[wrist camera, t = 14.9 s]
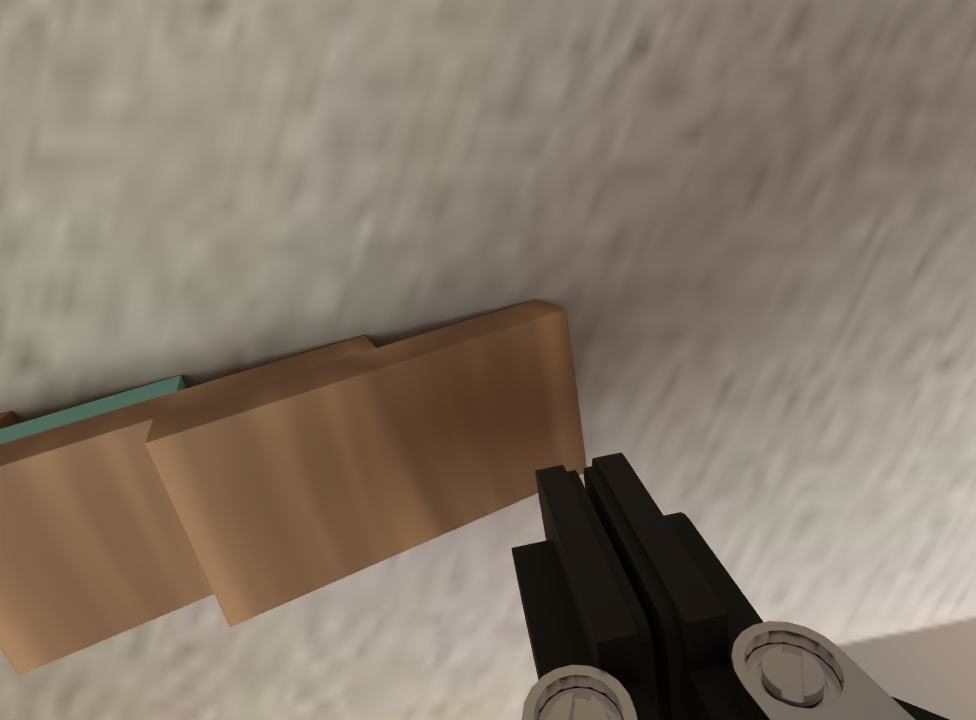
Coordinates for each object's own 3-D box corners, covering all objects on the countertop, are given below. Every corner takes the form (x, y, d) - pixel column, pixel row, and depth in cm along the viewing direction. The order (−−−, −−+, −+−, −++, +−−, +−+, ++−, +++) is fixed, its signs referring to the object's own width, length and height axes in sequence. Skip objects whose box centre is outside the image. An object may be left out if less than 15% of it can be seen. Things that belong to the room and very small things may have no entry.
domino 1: (377, 348, 14) (-103, 498, 11) (420, 507, 16) (18, 675, 13) (364, 334, 16) (-66, 463, 12) (405, 482, 18) (39, 628, 14)
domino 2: (565, 309, 14) (145, 443, 11) (587, 471, 16) (229, 627, 13) (536, 299, 16) (154, 415, 13) (558, 449, 18) (230, 584, 14)
